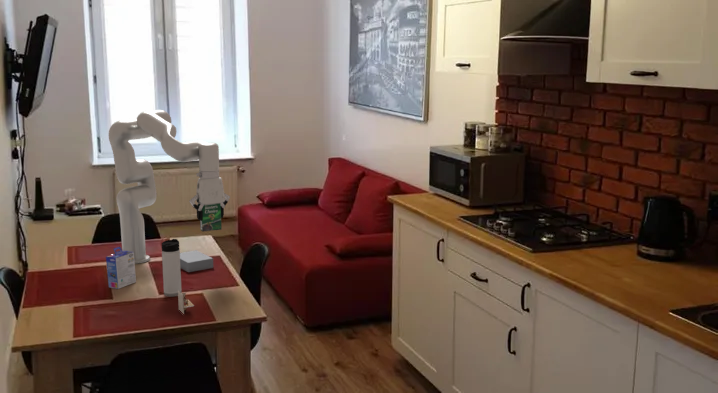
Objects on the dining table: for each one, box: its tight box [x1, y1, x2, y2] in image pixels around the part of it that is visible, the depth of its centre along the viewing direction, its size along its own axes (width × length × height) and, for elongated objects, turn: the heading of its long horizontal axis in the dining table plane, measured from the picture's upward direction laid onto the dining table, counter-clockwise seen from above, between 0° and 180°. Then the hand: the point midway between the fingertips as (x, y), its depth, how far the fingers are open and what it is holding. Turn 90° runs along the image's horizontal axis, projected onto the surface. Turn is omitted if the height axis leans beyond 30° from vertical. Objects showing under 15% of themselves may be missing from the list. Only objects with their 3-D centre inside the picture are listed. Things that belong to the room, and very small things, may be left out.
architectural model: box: [177, 291, 195, 315], centre depth 247 cm, size 3×7×7 cm, turn 29°
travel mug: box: [161, 238, 183, 298], centre depth 264 cm, size 6×7×20 cm
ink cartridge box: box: [105, 246, 137, 290], centre depth 275 cm, size 10×6×14 cm, turn 155°
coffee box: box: [199, 203, 222, 233], centre depth 284 cm, size 8×3×13 cm, turn 116°
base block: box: [180, 250, 214, 273], centre depth 302 cm, size 11×16×4 cm
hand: (210, 218), depth 284 cm, fingers closed on coffee box, 8 cm apart
